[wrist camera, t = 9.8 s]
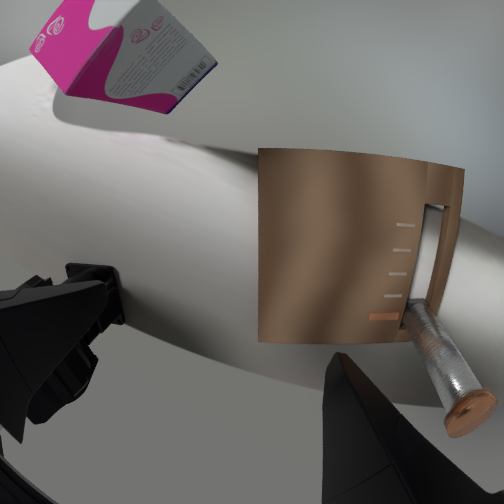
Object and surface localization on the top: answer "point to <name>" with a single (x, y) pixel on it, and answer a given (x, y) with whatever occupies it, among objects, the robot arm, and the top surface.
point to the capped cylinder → (448, 371)
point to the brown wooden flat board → (346, 243)
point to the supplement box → (121, 53)
